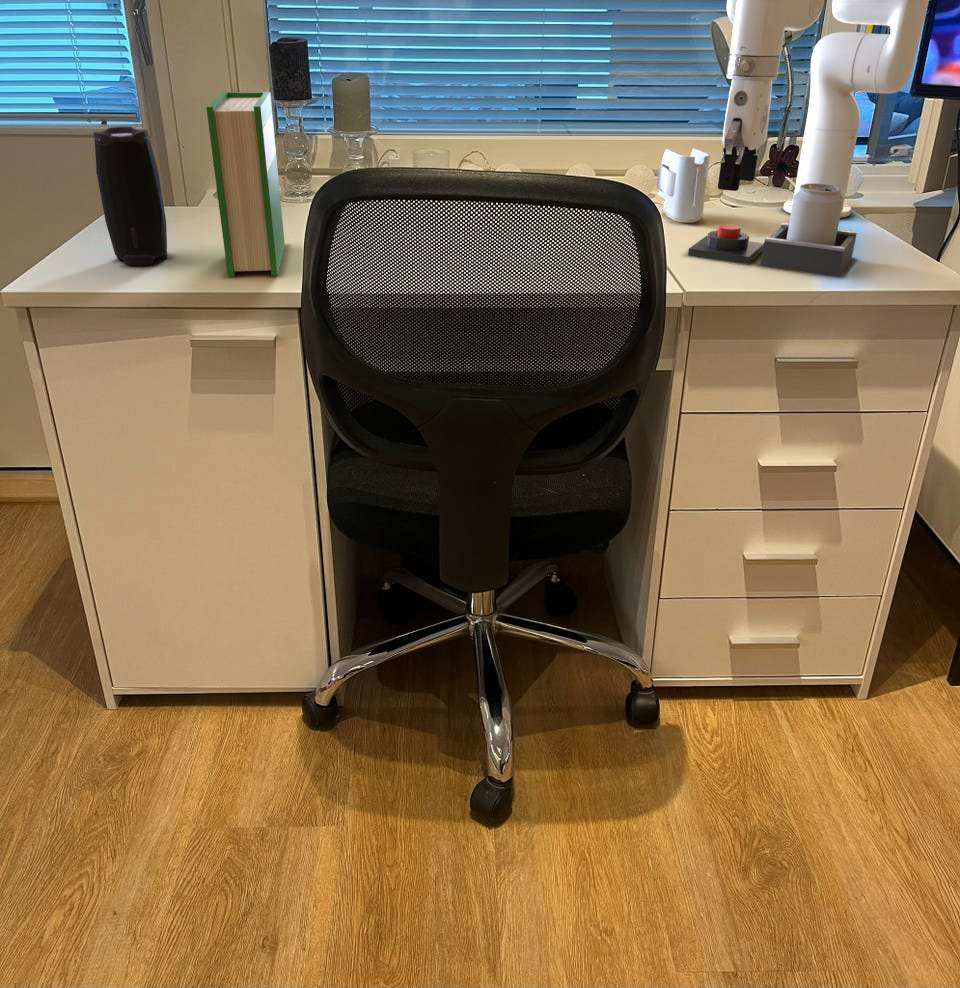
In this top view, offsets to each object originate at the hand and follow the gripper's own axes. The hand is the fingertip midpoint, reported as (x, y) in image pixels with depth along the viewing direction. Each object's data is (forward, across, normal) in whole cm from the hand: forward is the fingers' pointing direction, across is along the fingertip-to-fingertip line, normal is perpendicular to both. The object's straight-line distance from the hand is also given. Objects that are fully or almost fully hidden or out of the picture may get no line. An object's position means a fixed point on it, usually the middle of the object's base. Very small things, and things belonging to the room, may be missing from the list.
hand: (736, 184), depth 150 cm
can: (+11, +2, -13) cm, 17 cm away
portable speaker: (+12, -51, +80) cm, 96 cm away
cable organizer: (+11, +22, +15) cm, 29 cm away
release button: (+9, +1, 0) cm, 9 cm away
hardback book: (+12, -42, +64) cm, 78 cm away
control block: (+11, +1, 0) cm, 11 cm away
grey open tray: (+11, +2, -13) cm, 17 cm away
